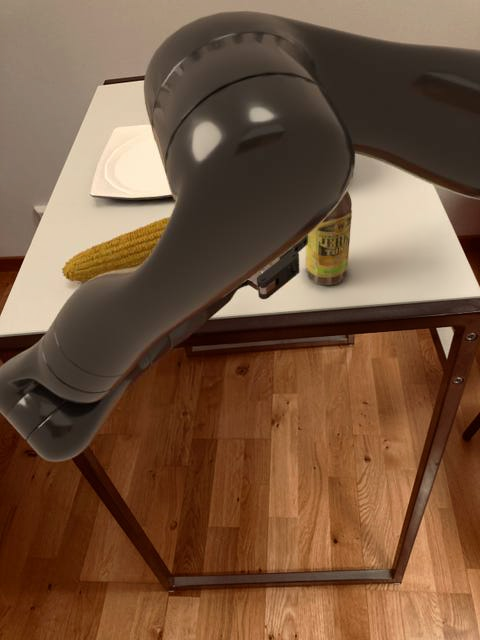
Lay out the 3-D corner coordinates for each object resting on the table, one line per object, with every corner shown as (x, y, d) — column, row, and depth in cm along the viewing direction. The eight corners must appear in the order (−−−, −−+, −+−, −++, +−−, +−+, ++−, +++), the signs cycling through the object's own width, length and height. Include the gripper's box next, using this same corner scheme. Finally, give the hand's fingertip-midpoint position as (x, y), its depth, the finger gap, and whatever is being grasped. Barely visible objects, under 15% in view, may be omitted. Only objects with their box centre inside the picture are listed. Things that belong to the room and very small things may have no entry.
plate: (238, 122, 113) (236, 111, 111) (234, 198, 94) (232, 185, 92) (114, 136, 116) (110, 125, 114) (86, 211, 97) (81, 200, 95)
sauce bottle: (319, 293, 75) (318, 175, 60) (298, 269, 79) (293, 153, 64) (356, 277, 76) (364, 158, 61) (334, 254, 80) (337, 137, 65)
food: (183, 234, 88) (176, 205, 84) (194, 252, 85) (187, 223, 80) (66, 277, 85) (52, 249, 80) (72, 298, 81) (58, 270, 76)
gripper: (223, 301, 47) (326, 212, 54) (127, 245, 54) (229, 173, 61) (233, 351, 53) (325, 265, 60) (144, 295, 60) (236, 223, 67)
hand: (276, 218), depth 61 cm, fingers open, 8 cm apart
